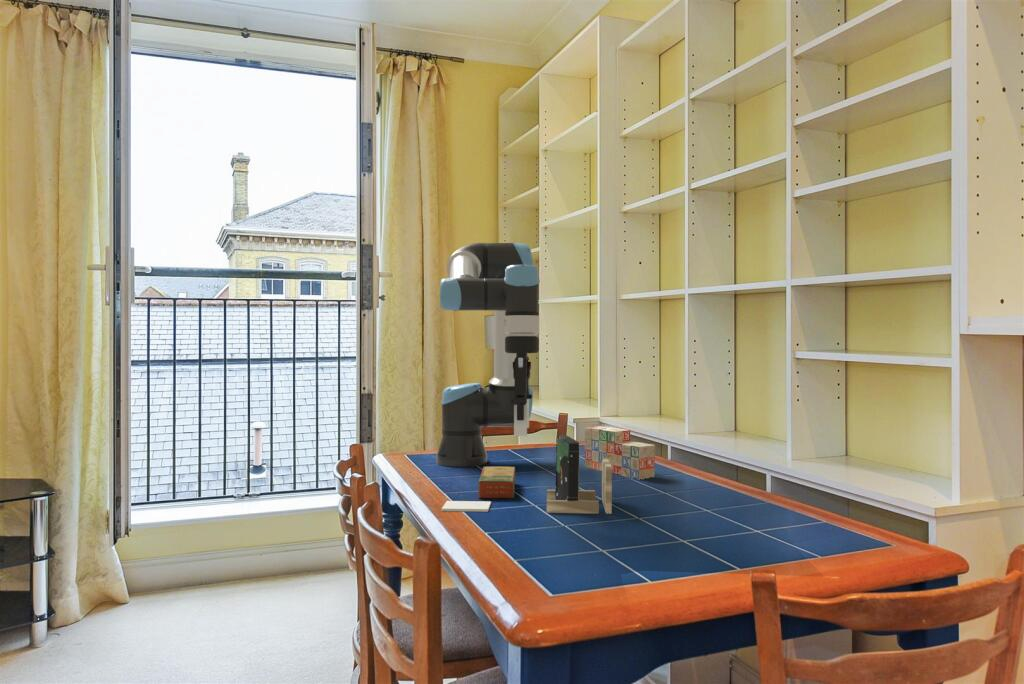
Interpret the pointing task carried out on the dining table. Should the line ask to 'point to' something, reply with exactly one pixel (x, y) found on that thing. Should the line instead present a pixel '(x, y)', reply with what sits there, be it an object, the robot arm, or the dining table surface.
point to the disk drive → (567, 468)
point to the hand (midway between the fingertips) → (521, 431)
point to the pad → (467, 506)
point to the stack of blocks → (619, 452)
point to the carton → (497, 482)
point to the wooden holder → (585, 496)
